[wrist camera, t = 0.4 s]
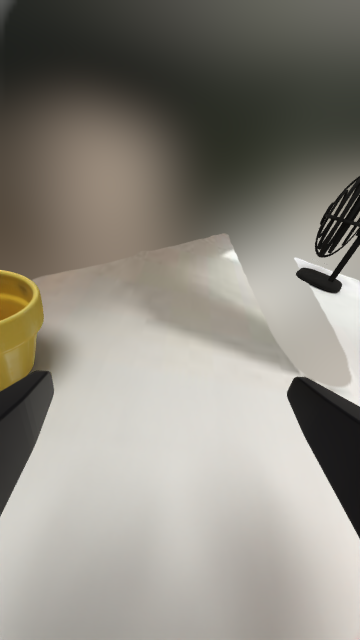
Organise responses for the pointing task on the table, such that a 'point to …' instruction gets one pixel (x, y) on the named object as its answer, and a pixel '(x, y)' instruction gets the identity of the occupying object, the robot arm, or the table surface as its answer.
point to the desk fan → (335, 239)
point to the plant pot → (18, 326)
